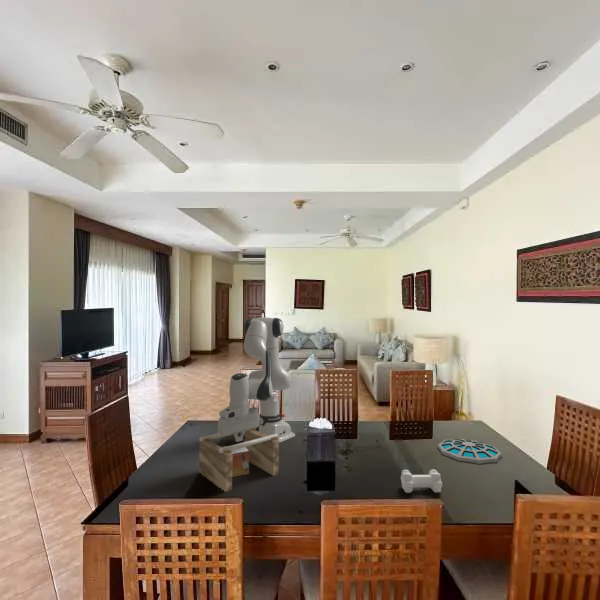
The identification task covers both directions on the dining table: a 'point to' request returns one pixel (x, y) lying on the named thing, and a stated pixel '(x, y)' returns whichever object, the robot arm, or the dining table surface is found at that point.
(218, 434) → the pale rod
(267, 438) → the off-white rod
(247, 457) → the small box
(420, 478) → the dog bone
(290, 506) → the dining table surface
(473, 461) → the decorative platform
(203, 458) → the rack
